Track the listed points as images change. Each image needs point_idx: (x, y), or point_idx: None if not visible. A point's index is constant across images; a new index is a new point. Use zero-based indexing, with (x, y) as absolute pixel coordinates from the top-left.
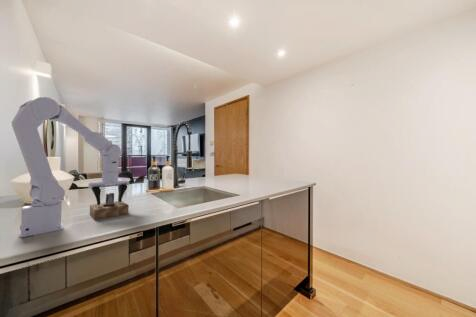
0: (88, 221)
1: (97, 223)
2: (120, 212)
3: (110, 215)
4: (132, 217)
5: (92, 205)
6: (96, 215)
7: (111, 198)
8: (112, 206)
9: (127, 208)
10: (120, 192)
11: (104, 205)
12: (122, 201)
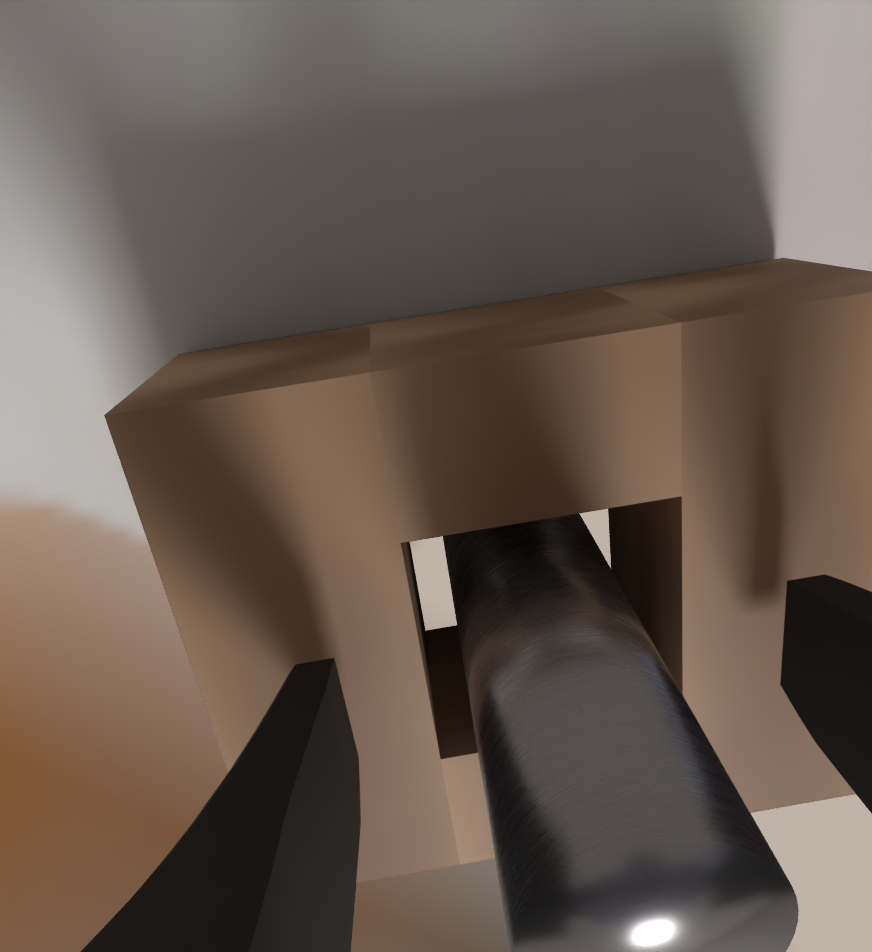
0: None
1: (768, 22)
2: (330, 344)
3: (523, 309)
4: (89, 48)
5: None
6: (801, 270)
7: (573, 703)
8: (512, 459)
9: (161, 384)
10: (279, 929)
11: None
12: None
